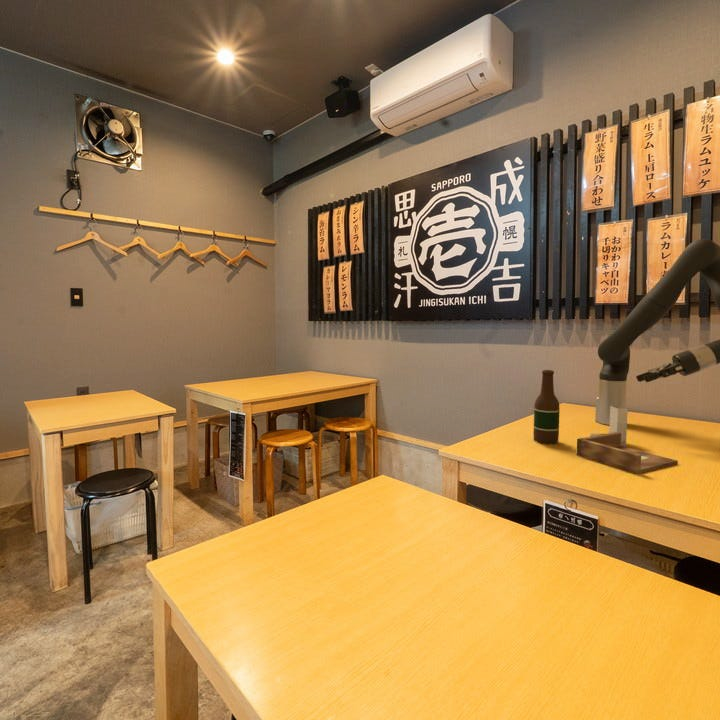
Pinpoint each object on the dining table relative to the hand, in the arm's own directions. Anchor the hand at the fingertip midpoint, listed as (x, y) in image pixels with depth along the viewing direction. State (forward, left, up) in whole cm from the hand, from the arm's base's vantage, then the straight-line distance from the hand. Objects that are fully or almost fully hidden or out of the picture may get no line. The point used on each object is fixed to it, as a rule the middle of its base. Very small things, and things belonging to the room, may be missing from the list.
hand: (640, 379), depth 143 cm
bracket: (-2, -13, -21) cm, 24 cm away
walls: (+12, -25, -21) cm, 34 cm away
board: (+12, -25, -21) cm, 34 cm away
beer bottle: (-12, -30, -21) cm, 38 cm away
